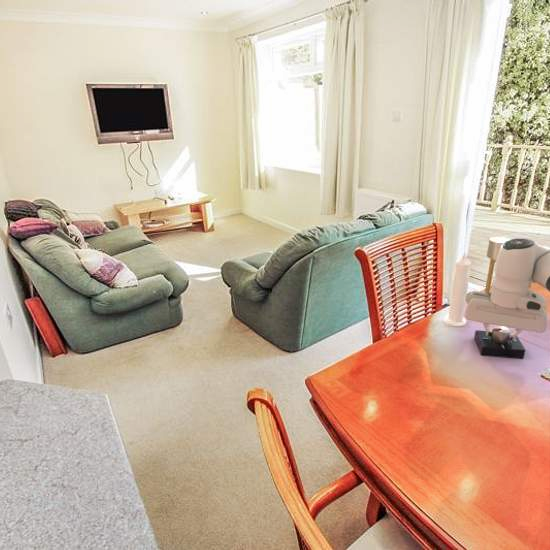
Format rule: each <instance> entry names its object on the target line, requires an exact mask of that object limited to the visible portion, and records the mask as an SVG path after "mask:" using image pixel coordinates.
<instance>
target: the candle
mask: <svg viewBox="0 0 550 550" xmlns="http://www.w3.org/2000/svg"><path fill="white" fill-rule="evenodd" d="M471 270H472V262H471V261H470V260H469V259H468V257H467V252H464V253H463V255H462V257H461V258H459V259H457V260H456V261H455V264H454V272H453V280H452V285H451V293H450V301H449V307H448V314H447V315H445V316H444V317H443V322H444V323H445V324H446V325H448V326H449V327H455V328H462V327H465V326H466V325H467V322H468V320H467V319H466V318H465V317H464V315H465V309H466V303H467V302H466V295H467V293H468V289H469V283H470V277H471Z"/></svg>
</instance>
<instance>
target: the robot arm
mask: <svg viewBox="0 0 550 550" xmlns="http://www.w3.org/2000/svg"><path fill="white" fill-rule="evenodd" d="M509 239H510V240H508V241H506V242H504V243H503V245H502V246H501V248H500V250H499V253H498V256H497V260H496V262H495V264H494V277H493V279H492V281H491V286H490V292H489V293H487V292H485V291H479V290H472V291H469V292H467V295H466V302H465V303H466V305H465V309H464V315H463V318H465V319H466V321H471V322H475V323H476V322H477V323H481V324H483V327H484V329H485V330H484V331H486V336H492V330H493V328H490V325H492V326H504V327H507V328H510V329H514V331H513V332H512V331H510V335H509V339H508V340H512V341H514V340H515V336H517V337H518V335H520V334H521V333H522V331H527V332H531V333H532V332H533V333H538V334H542V333H544V332H546V331H547V327H548V314H547V308H546V307H547V300H546V297H545V296H544V294H542V293H539V292H536V291H534V290H532V289H530V290H529V285H530V284H531V285H532V284H537V285H539V286H541V287H543V288H544V289H545V290H547V291H548V292H550V247H548V246H542V245H540V244H538V243H536V242H535V241H534V240H533V239H530V238H526V237H520V238H519V237H515V238H509Z"/></svg>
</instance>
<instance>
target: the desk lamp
mask: <svg viewBox="0 0 550 550" xmlns="http://www.w3.org/2000/svg"><path fill="white" fill-rule="evenodd" d="M510 239H511V238H508V237H503V236H492V237H489V240H488V246H487V251H486V257H487V258H488V259H490V261H489V266H488V270H487V271H488V272H487V278H486V283H485V288H484V292H487V293H490V292H491V287H492V282H493V275H494V271H495V264H496V260H497V256H498V253H499V250H500V248H501V246H502V245H503V243H504V242H506V241H508V240H510Z"/></svg>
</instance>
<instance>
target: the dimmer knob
mask: <svg viewBox="0 0 550 550" xmlns="http://www.w3.org/2000/svg"><path fill="white" fill-rule="evenodd" d="M510 332H511V330H510V329H509V327H504V326H499V325H493V327H492V336H491V339H492V340H493V341H494V342H496V343H500V344H505V343H507V342H508V339H509V335H510Z"/></svg>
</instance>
